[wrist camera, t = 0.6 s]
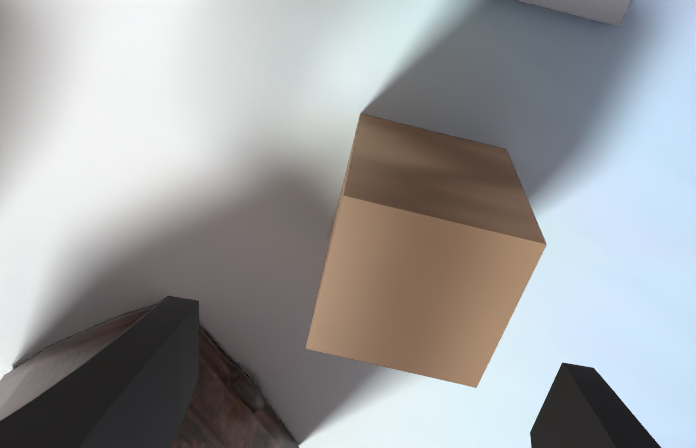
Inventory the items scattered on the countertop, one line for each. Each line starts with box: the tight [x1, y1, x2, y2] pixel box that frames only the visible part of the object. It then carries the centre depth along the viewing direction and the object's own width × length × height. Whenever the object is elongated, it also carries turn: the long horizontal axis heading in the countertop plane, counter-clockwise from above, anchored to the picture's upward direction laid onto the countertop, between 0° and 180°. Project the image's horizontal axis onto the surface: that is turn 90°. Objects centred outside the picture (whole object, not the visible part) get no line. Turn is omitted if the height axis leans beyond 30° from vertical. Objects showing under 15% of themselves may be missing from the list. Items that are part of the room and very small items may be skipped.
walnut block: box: [305, 114, 547, 388], centre depth 17 cm, size 5×5×6 cm
